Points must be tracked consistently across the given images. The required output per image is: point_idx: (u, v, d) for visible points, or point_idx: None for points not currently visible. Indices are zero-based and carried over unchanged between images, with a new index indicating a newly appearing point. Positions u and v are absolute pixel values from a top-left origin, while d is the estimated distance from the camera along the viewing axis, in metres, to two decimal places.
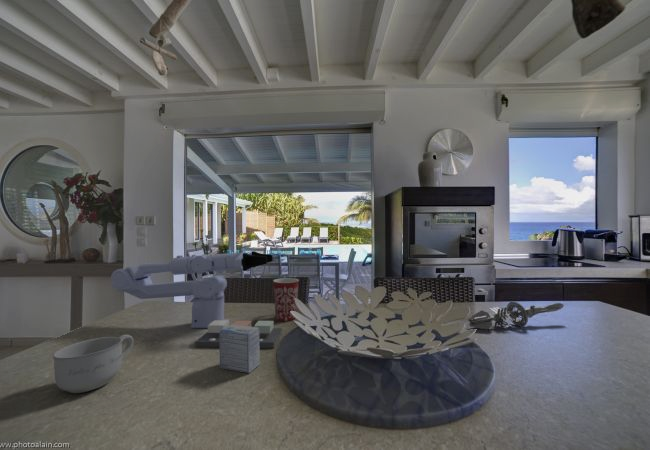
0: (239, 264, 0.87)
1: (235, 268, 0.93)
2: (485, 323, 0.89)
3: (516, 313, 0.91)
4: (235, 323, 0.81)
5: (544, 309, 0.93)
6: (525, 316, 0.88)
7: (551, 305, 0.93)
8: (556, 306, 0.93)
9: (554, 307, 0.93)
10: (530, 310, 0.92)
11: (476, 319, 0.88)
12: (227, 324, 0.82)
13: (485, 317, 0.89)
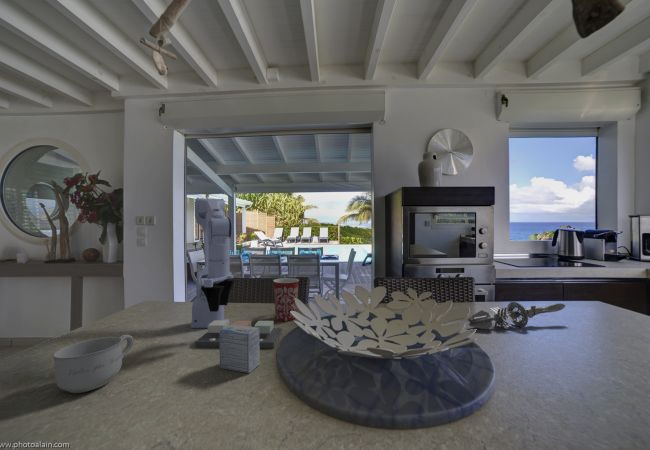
0: (205, 286, 0.74)
1: (208, 270, 0.80)
2: (485, 323, 0.89)
3: (516, 313, 0.91)
4: (235, 323, 0.81)
5: (545, 309, 0.92)
6: (525, 316, 0.88)
7: (552, 305, 0.93)
8: (557, 306, 0.93)
9: (555, 307, 0.93)
10: (531, 310, 0.91)
11: (476, 319, 0.88)
12: (227, 324, 0.82)
13: (485, 317, 0.89)
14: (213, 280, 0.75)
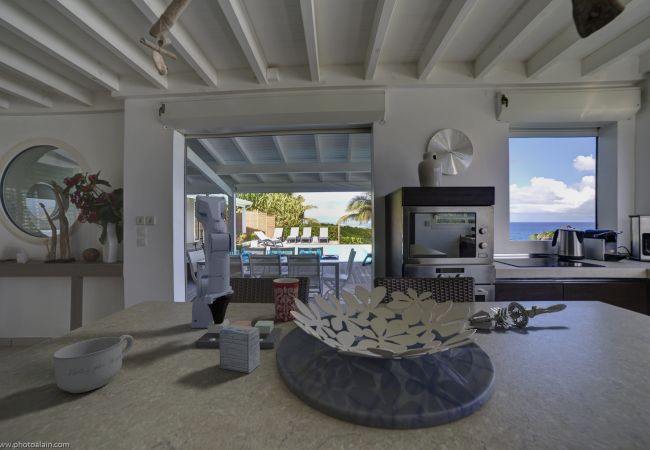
0: (205, 302, 0.74)
1: (208, 285, 0.80)
2: (485, 323, 0.89)
3: (517, 313, 0.91)
4: (235, 323, 0.81)
5: (546, 310, 0.92)
6: (526, 316, 0.88)
7: (553, 306, 0.92)
8: (558, 307, 0.93)
9: (556, 308, 0.92)
10: (531, 310, 0.91)
11: (476, 319, 0.89)
12: (227, 324, 0.82)
13: (485, 317, 0.89)
14: (213, 296, 0.75)
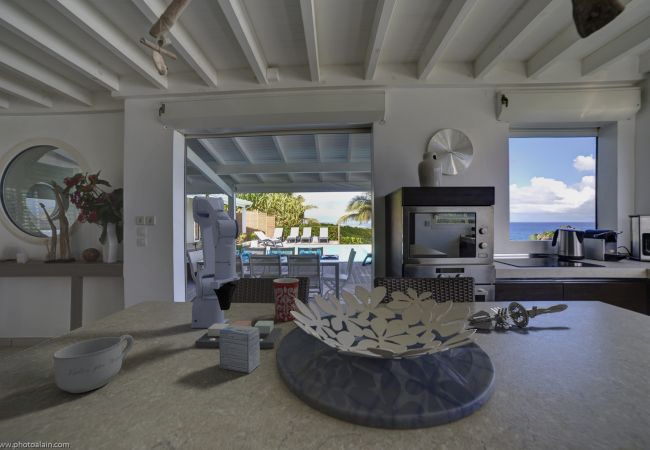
0: (212, 287, 0.74)
1: (215, 272, 0.80)
2: (485, 323, 0.89)
3: (517, 313, 0.91)
4: (235, 323, 0.81)
5: (547, 310, 0.92)
6: (526, 316, 0.88)
7: (554, 306, 0.92)
8: (560, 307, 0.92)
9: (557, 308, 0.92)
10: (532, 311, 0.91)
11: (475, 319, 0.89)
12: None
13: (485, 317, 0.89)
14: (219, 282, 0.75)
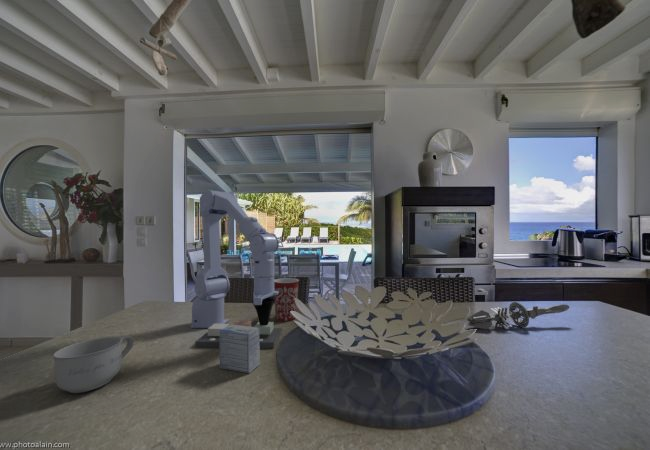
0: (255, 303, 0.74)
1: (254, 286, 0.79)
2: (485, 323, 0.89)
3: (518, 314, 0.90)
4: (235, 323, 0.81)
5: (548, 310, 0.91)
6: (526, 317, 0.88)
7: (555, 306, 0.92)
8: (561, 307, 0.92)
9: (559, 308, 0.92)
10: (533, 311, 0.91)
11: (475, 319, 0.89)
12: None
13: (485, 317, 0.89)
14: (262, 298, 0.75)
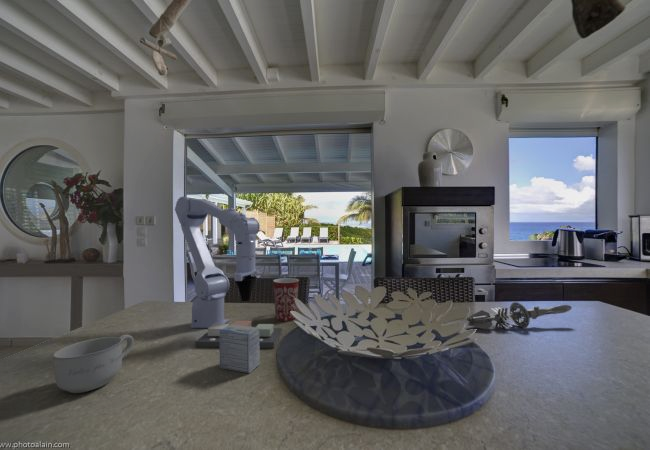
0: (236, 279, 0.81)
1: (237, 265, 0.87)
2: (485, 323, 0.89)
3: (518, 314, 0.90)
4: (235, 323, 0.81)
5: (549, 311, 0.91)
6: (527, 317, 0.87)
7: (557, 307, 0.91)
8: (563, 308, 0.91)
9: (560, 309, 0.91)
10: (534, 311, 0.90)
11: (475, 319, 0.89)
12: None
13: (485, 317, 0.89)
14: (242, 274, 0.82)
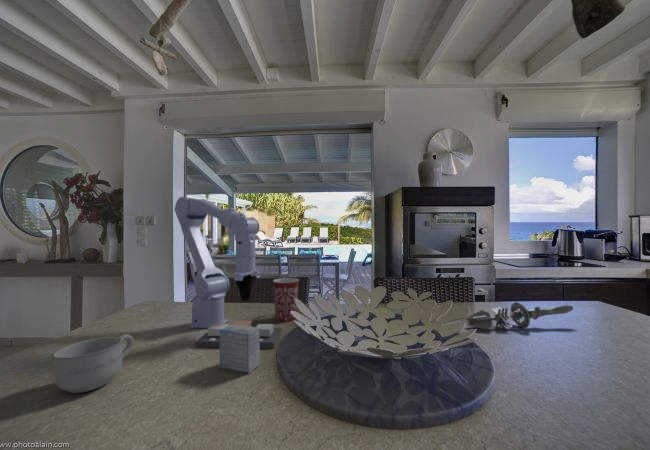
0: (236, 279, 0.81)
1: (237, 265, 0.87)
2: (484, 323, 0.89)
3: (519, 314, 0.90)
4: (235, 323, 0.81)
5: (550, 311, 0.90)
6: (527, 317, 0.87)
7: (558, 307, 0.91)
8: (564, 308, 0.91)
9: (562, 309, 0.91)
10: (534, 311, 0.90)
11: (475, 318, 0.89)
12: None
13: (484, 317, 0.89)
14: (242, 274, 0.82)
